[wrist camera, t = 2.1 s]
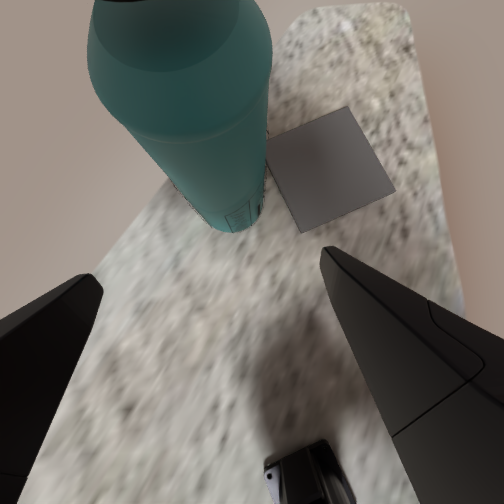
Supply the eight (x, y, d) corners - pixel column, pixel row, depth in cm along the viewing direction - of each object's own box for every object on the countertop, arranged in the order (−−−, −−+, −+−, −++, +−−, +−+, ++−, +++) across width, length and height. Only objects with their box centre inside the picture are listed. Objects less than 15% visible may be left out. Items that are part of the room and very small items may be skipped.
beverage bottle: (265, 236, 22) (368, -227, 2) (202, 239, 22) (-351, -169, 2) (261, 178, 23) (302, -565, 3) (201, 181, 23) (-188, -514, 3)
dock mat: (393, 192, 22) (396, 191, 22) (301, 233, 22) (301, 232, 21) (346, 109, 23) (347, 106, 23) (258, 146, 23) (258, 143, 23)
